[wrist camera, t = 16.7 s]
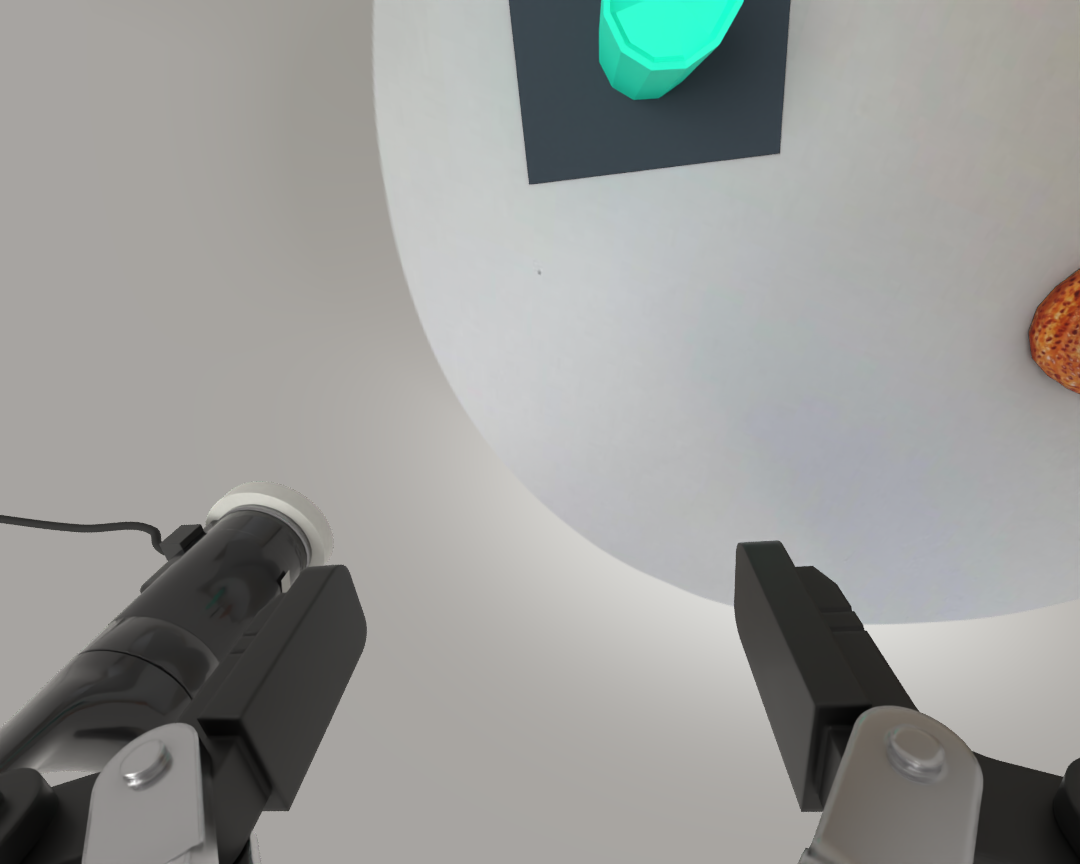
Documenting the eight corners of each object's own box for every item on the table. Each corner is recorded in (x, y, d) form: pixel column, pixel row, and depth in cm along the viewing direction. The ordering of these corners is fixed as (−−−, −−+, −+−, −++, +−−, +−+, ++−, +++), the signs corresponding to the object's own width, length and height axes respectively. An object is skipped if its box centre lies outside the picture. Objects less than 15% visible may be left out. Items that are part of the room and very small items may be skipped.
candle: (714, -9, 30) (784, -110, 20) (680, 111, 33) (725, 80, 22) (612, -34, 30) (625, -149, 20) (586, 88, 33) (585, 46, 22)
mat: (529, 184, 36) (529, 184, 36) (498, -91, 30) (498, -92, 30) (778, 153, 34) (779, 153, 34) (800, -148, 28) (800, -149, 28)
